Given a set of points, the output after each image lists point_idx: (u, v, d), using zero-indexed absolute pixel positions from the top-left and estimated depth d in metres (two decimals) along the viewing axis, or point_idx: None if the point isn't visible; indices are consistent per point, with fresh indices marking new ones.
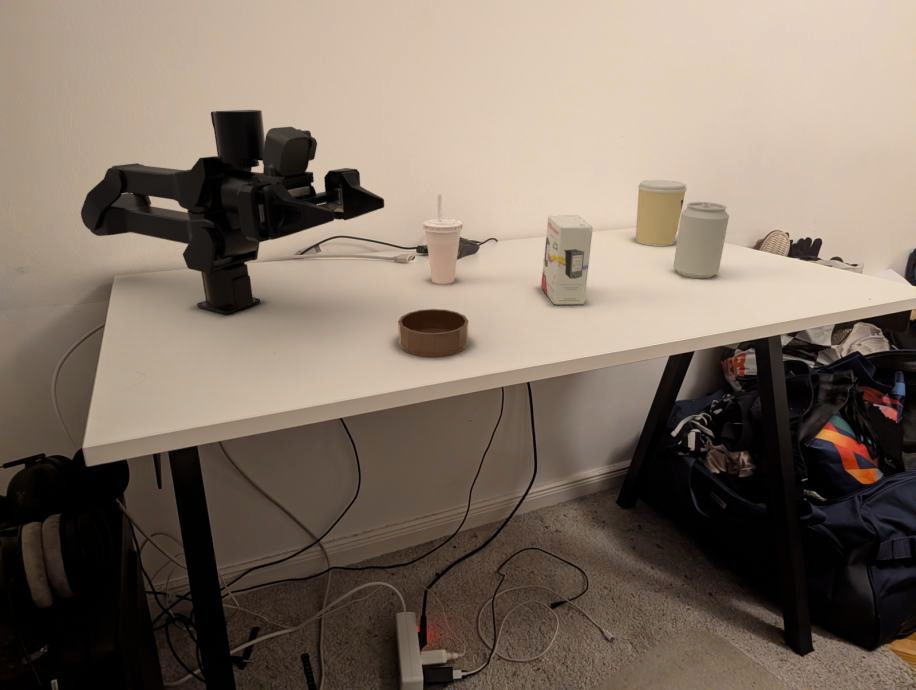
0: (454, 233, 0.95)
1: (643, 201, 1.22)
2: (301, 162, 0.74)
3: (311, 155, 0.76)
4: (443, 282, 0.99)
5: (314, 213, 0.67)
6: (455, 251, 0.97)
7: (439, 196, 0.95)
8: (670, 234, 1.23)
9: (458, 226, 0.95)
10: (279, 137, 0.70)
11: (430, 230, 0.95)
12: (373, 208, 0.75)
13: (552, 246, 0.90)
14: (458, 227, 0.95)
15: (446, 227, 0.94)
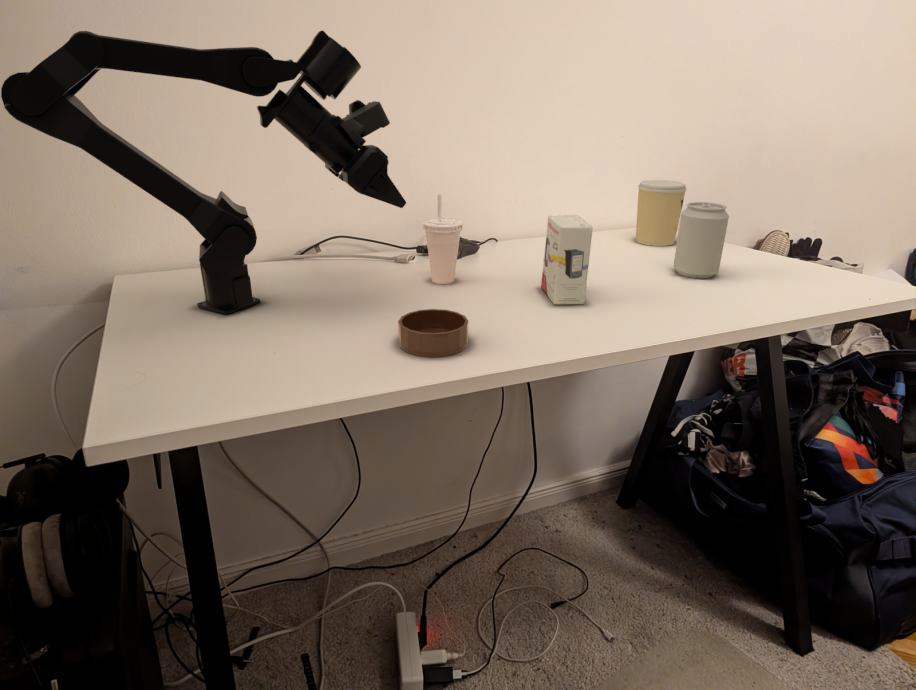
0: (454, 233, 0.95)
1: (643, 201, 1.22)
2: None
3: None
4: (443, 282, 0.99)
5: (395, 195, 0.86)
6: (455, 251, 0.97)
7: (439, 196, 0.95)
8: (670, 234, 1.23)
9: (458, 226, 0.95)
10: (385, 115, 0.84)
11: (430, 230, 0.95)
12: None
13: (552, 246, 0.90)
14: (458, 227, 0.95)
15: (446, 227, 0.94)
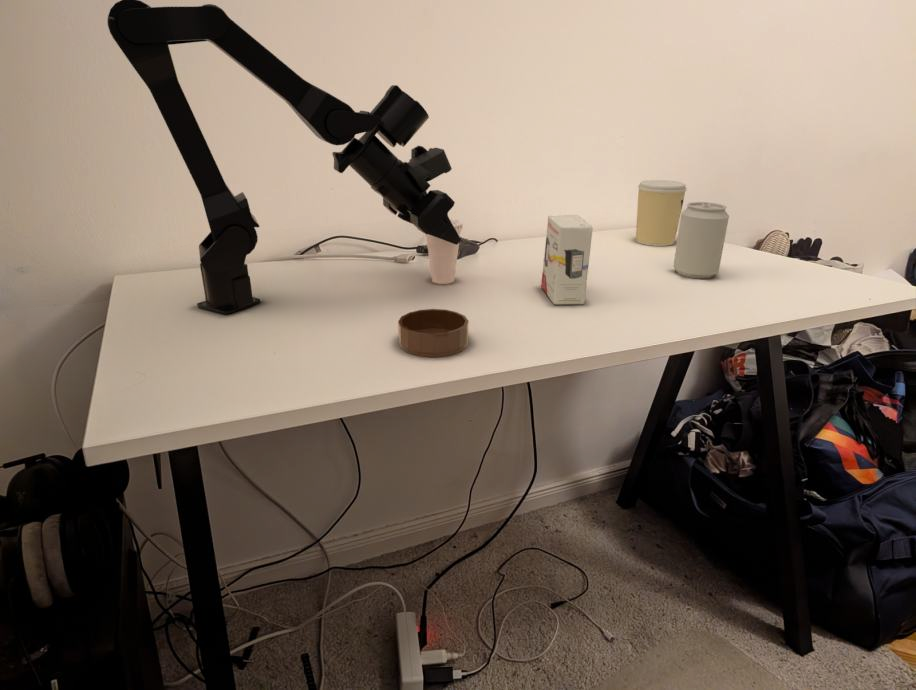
0: None
1: (643, 201, 1.22)
2: None
3: None
4: (443, 282, 0.99)
5: (452, 233, 0.94)
6: (455, 251, 0.97)
7: None
8: (670, 234, 1.23)
9: (458, 226, 0.95)
10: (448, 161, 0.91)
11: None
12: None
13: (552, 246, 0.90)
14: (458, 227, 0.95)
15: None
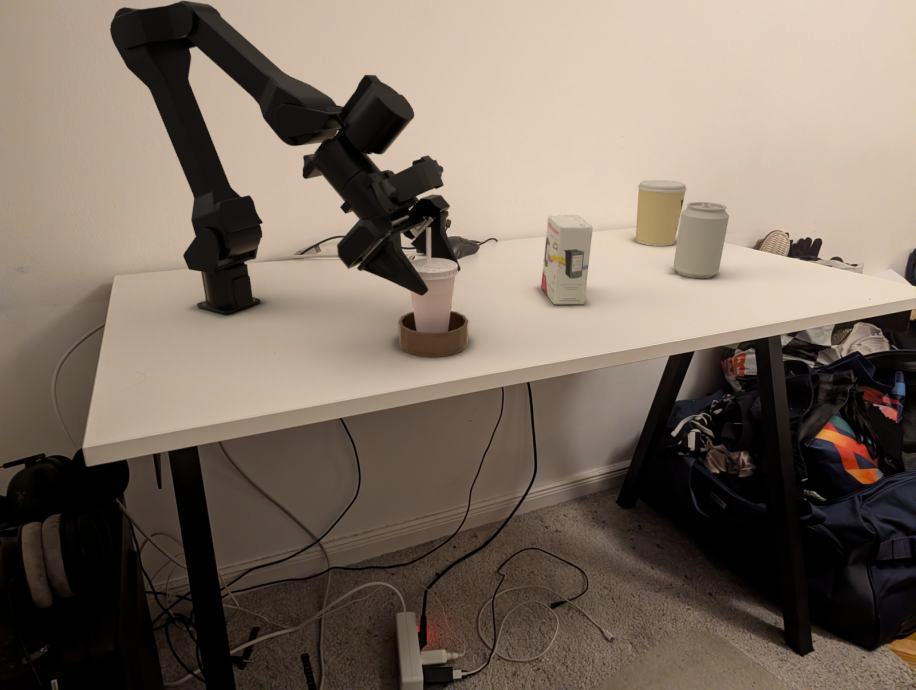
0: (428, 281, 0.70)
1: (643, 201, 1.22)
2: None
3: None
4: None
5: (412, 279, 0.68)
6: (433, 305, 0.72)
7: (427, 229, 0.71)
8: (670, 234, 1.23)
9: (434, 273, 0.70)
10: (422, 180, 0.67)
11: None
12: None
13: (552, 246, 0.90)
14: (434, 274, 0.70)
15: None
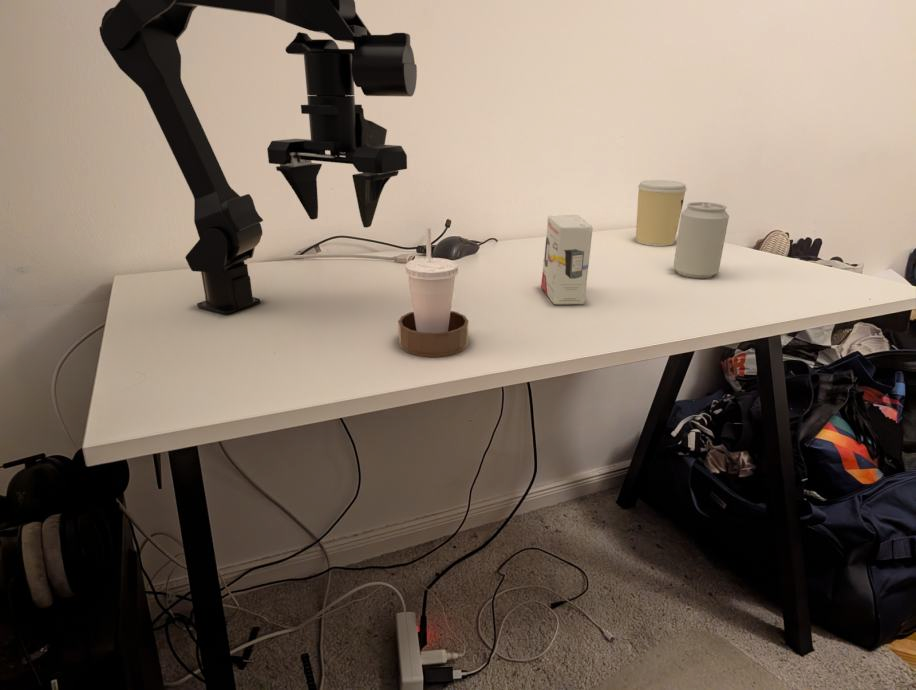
0: (428, 281, 0.70)
1: (643, 201, 1.22)
2: None
3: None
4: None
5: (371, 210, 0.77)
6: (433, 305, 0.72)
7: (427, 229, 0.71)
8: (670, 234, 1.23)
9: (434, 273, 0.70)
10: (384, 143, 0.82)
11: None
12: (310, 209, 0.81)
13: (552, 246, 0.90)
14: (434, 274, 0.70)
15: (415, 271, 0.70)
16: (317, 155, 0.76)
